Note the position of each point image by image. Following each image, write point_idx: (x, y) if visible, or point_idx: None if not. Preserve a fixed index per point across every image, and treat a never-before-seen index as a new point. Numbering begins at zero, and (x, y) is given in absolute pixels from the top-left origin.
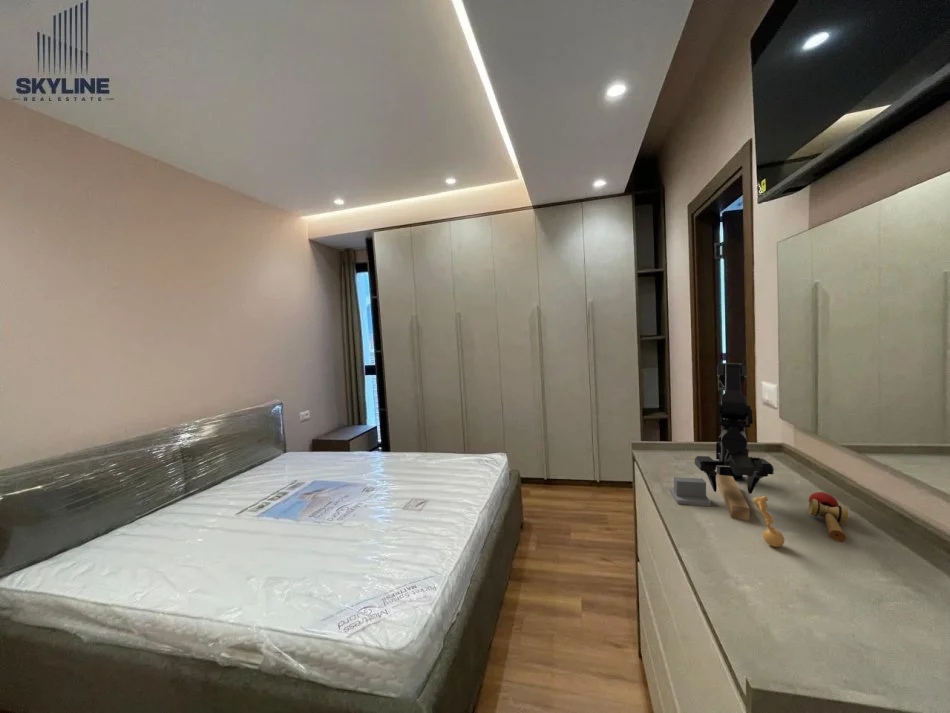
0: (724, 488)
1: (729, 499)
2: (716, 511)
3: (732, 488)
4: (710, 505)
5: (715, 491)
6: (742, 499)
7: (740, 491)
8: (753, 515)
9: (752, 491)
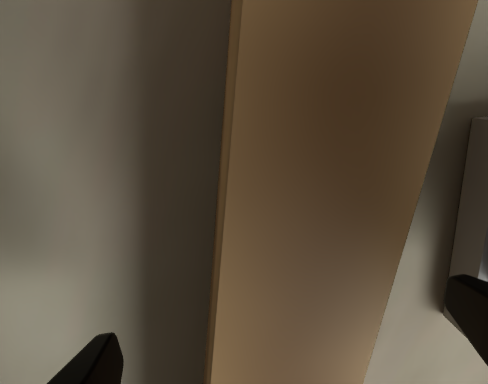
0: (372, 342)
1: (469, 4)
2: (475, 14)
3: (283, 369)
4: (480, 118)
5: (462, 274)
6: (273, 60)
7: (217, 322)
8: (163, 9)
9: (72, 359)
